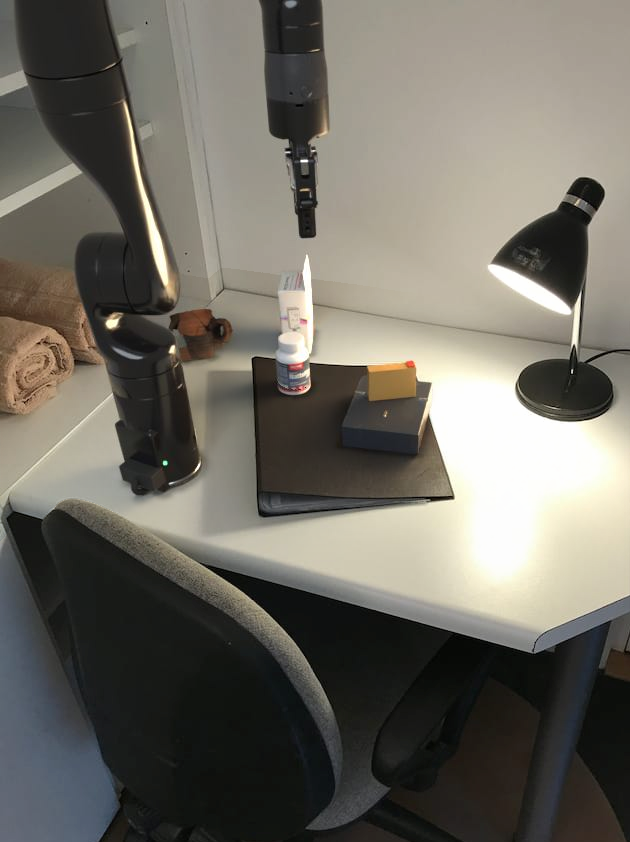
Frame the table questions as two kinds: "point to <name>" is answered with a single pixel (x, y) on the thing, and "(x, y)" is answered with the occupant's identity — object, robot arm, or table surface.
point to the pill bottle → (292, 363)
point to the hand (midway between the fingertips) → (305, 225)
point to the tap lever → (391, 381)
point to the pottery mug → (200, 333)
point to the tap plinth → (387, 420)
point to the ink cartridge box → (297, 303)
